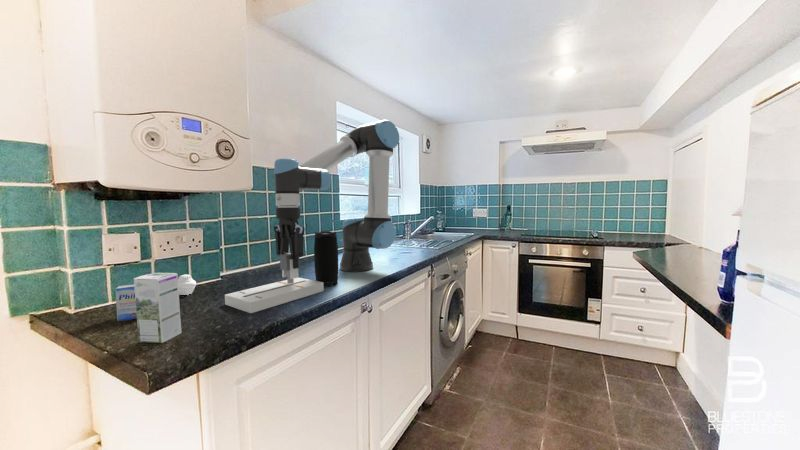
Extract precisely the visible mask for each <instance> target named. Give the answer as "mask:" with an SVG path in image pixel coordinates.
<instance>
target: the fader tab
mask: <svg viewBox="0 0 800 450" xmlns="http://www.w3.org/2000/svg"><path fill="white" fill-rule="evenodd" d="M294 255H295V254H294ZM289 258H291V253H290V252H288V253H286V254H280V255H279V267H280V268H279V269H280V271H282V270H286V271H287V277H286V278H287V279H286V280H287V283H289V284H291V283H294V279H290V259H289ZM300 265H301V263H300V261H299V268H298V269H300V267H301V266H300Z"/></svg>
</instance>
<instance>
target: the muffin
mask: <svg viewBox="0 0 800 450" xmlns="http://www.w3.org/2000/svg"><path fill="white" fill-rule="evenodd" d="M196 285H197V281H196V280H195V279H193V277H192V275H190V274H185V273H184V274H182V275H179V276H178V290H179V296H180V295H187V296H190V295H189V294H191V295H192V294H193V292H194V290H195V288H196Z"/></svg>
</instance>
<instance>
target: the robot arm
mask: <svg viewBox="0 0 800 450" xmlns="http://www.w3.org/2000/svg"><path fill="white" fill-rule="evenodd" d="M399 143H400V133H399V131H398V128H397V127H396V125H395V124H394V122H392V121H390V120H388V119H382V120H377V121H374V122H370V123H366V124H362V125H360V126H358V127H356V128H354V129H353V130H351V131H350V132H348V133H347V134H345V135H343V136H341V138H340V139H339V141H338V142H337V143H335V144H333V145H331V146H329V147H328V148H326V149H325V150H323V151H321V152H319V153H318V154H315V156H313V157H312V158H310V159H307V160H306V161H304V162H303V163H301V164H300V163H299V161H298V159H293V158H278V159H275V161H274V167H273V168H274V169H273V174H274V193H275V197H274V198H275V206H276V208H275V218H276V220H279V221H278V224H277V225H274V226H273V231H274V238H275V249H276V250H275V251H276V255H277V256H280V254H286V253H291V258H289V259H290V279H294V278H298V277H299V269H300V268H299V262H300V258H302V257H304V233H305V227H304V226H300V224H299V219H300V218H301V208H300V207H299V206H301V198H300V196H301V195H300V191H311V190H312V191H315V190H316V191H325V190H328V189H329V187H330V186H331V183H332V182H331V181H332V179H331V177H332V176H331V174H330V172H329V171H330V170H331V169H333V168H334V167H336V166H337V165H339V164H340V163H342V162H343V161H345V160H347V159H348V158H354V157H355V156H357V155H359V154H363V153H366V155H368V157H369V162H368V163H369V164H368V189H367V190H368V192H367V193H368V194H367V195H368V196H367V197H368V198H367V213H366V214H365V215H364V216H363V217H354V218H346V219H344V221H343V222H342V228H341V229H342V246H343V247H342V248H343V251H342V255H341V259H340V263H339V269H340V271H343V272H344V271H345V272H366V271H369V270H372V269H373V268H374V266H373V265H374V262H373V261H372V257H371V254H370V249H371V248H372V249H376V250H380V249H381V250H384V249H389V248H390V247H391V246H392V245H393V244H394V242H395V239H396V237H397V228H396V225H395V224H394V222H392V217H391V215H390V214H389V183H390V181H389V179H390V158H391V157H392V156H393V155H394V149H395V148H396V147H397V146H398V144H399ZM369 248H370V249H369ZM289 251H290V252H289ZM294 254H295V255H294ZM281 272H282V273H281V274H282V275H281V276H282V278H287V271H286V270H281ZM299 278H300V277H299Z"/></svg>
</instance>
